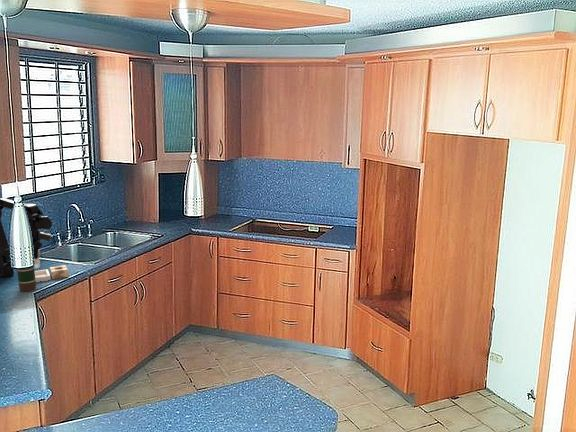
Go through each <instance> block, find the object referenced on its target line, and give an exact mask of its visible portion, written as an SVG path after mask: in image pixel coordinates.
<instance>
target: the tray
mask: <svg viewBox="0 0 576 432" xmlns="http://www.w3.org/2000/svg"><path fill="white" fill-rule="evenodd" d="M34 271H35V280H36V283H40V281H42V282H47V281H48V280H49V281H51V279H52V277H51V273H50V272H49V271H50V270H49V269H41V270H34ZM49 281H48V282H49Z"/></svg>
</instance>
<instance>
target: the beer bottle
mask: <svg viewBox="0 0 576 432" xmlns="http://www.w3.org/2000/svg"><path fill="white" fill-rule="evenodd" d="M35 271H36V270H35V268H34V266H33V267H31V268H25V269H17V268H16V272H17V281H18V289H19V291H20V292H22V293H28V292H32V290H33V291H35V290H36V289H37V282H36V280H35Z"/></svg>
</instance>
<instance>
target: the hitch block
mask: <svg viewBox="0 0 576 432" xmlns="http://www.w3.org/2000/svg"><path fill="white" fill-rule="evenodd" d="M49 271H50V272H49V274H50V278H51V279H52V280H54V279H55V278H56V279H62V277H63V278H68V277H69V269H68V266H66V264H64V265H58V266H57V265H56V266H50V267H49Z"/></svg>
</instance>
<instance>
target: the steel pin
mask: <svg viewBox="0 0 576 432" xmlns="http://www.w3.org/2000/svg"><path fill="white" fill-rule="evenodd" d="M40 257H41V252H40V249H38V257H37V258H36V259H35V258H34V261H35V264H34V269H39V268H41V262H40Z"/></svg>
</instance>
